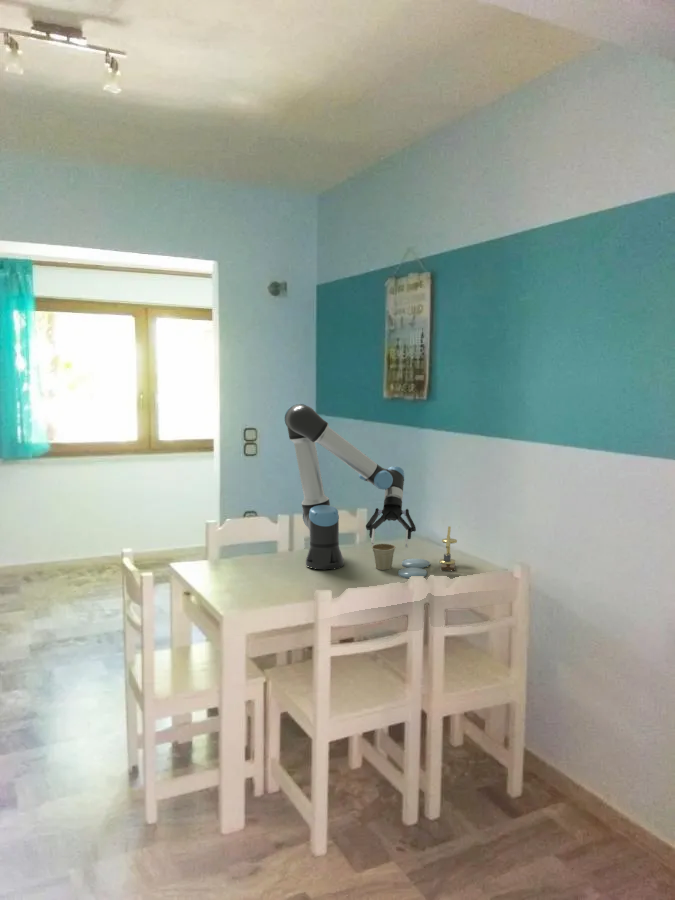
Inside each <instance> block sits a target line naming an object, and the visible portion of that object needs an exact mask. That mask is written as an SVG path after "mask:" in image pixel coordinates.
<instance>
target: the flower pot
mask: <svg viewBox="0 0 675 900" xmlns="http://www.w3.org/2000/svg"><path fill="white" fill-rule="evenodd" d="M371 549H372V552H373V556H374V563H375V568H376V569H377V570H381V571H386V570H387V571H388V570H391V569H392V567H393V560H394V554H395V550H396V545H394V544H390V543H376V544H374V545H373V546H372V545H371Z"/></svg>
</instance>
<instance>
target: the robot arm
mask: <svg viewBox="0 0 675 900" xmlns="http://www.w3.org/2000/svg"><path fill="white" fill-rule="evenodd" d="M284 422H285V423H284V424H285V425H286V427H287V432H288V433H287V434H288V438H289V441H290V442H292V443H293V444H294V445H293V446H294V449H295V455H296V456H295V457H296V461H297V465H298V466H297V467H298V471H299V472H298V473H299V477H300V482H301V486H302V488H301V489H302V493H303V499H302V501H301V507H302V520H303V522H304V524H305V526H306V527H307V529H308V530H309V549H308V552H307V555H306V559H305V566H306V565H307V566H309V567H312V568H316V569H333V570H335V569H334V568H337V569H340V568H342V567H343V566H344V557H343V554H342V551H341V549H340V543H339V542H340V539H339V538H340V531H339V530H340V529H339V526H340V525H339V524H340V521H339V520H340V514H339V510H338V509H337V508H336V507H335V506H332V505H331V503H330V498H329V497H328V496H327V495H325V491H324V485H323V480H322V472H321V468H320V462H319V458H318V457H319V456H318V450H317V447H316V443H317V444H319V445H320V446H322V447H323V448H324V449H326V450H327V451H329V453H331V454H332V455H334V456H335V457H336V458H338V459H339V460H340V461H341V462H343V463H344V464H346V465H347V466H348V467H349V468H351V469H352V470H354V471H355V472H356V473H358V477H359V480H362V481H364V482H367V483H370V484H371V485H373V486H375V488H377V489H378V490H384V501H383V508H382V509H379V507H378V508H377V507H376V508H375V510H374V513H373V514H372V516H371V517H370V519H369V520H368V521H367V523H366V525H365V529H366V530H367V531H369V538H370V540H371V541H370V544H371V547H372V546H373V545H375V537H376V535H375V534H376V530H377V528H378V527H380V526H381V525H382V524H383V523H384V522H386V521H394V522H395V521H398V523H400V525H402V526H403V527H404V529H405V542H404V546H405V548H408V546H409V543H408V542H409V540H411V539H412V532H416V531H417V529H416V528H417V527H416V524H415V523H414V521H413V519H412V517H411V515H410V510H409V509H408V508H406V509H405V510H402V509H403V507H402V506H403V495H404V484H405V483H404V482H405V472H404V469H403V468H401V466H394V465H392V466H390V467H388V468H387V469H386V468H384V467H382V466H380V465H379V464H377V463H376V462H375V461H374V460H373V459H371V458H370V457H369V456H367V455H366V454H364V453H363V452H362V451H361V450H360V449H358V448H357V447H356V446H354V445H353V444H352V443H351V442H349V441H348V440H346V439H345V438H344V437H343V436H341V435H340V434H339V433H337V432H336V431H335V430H333V429H332V428H331V427H330V426H329V423H328V422H327V421H326V420H325V419H323V418H322V416H320V415H319V414H318V413H317V412H316V411H315V410H314V409H313V408H312V407H310V406H308V405H306V404H304V403H296V404H294V405H291V406H290V407H288V409H287V410H286V412H285V415H284ZM380 515H381V516H380ZM402 515H404V517H406V520H407V522H408V523H407V522H406V521H405V519H404V518H403V517H402ZM379 516H380V518H379ZM377 518H378V519H377ZM307 566H306V567H307ZM341 566H342V567H341ZM339 567H340V568H339Z"/></svg>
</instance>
